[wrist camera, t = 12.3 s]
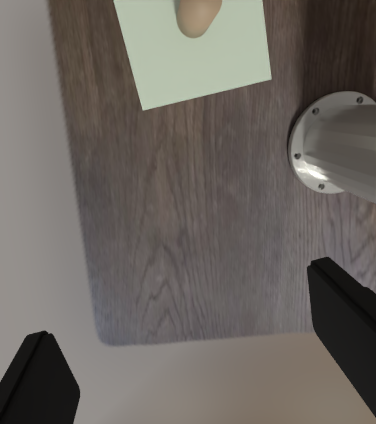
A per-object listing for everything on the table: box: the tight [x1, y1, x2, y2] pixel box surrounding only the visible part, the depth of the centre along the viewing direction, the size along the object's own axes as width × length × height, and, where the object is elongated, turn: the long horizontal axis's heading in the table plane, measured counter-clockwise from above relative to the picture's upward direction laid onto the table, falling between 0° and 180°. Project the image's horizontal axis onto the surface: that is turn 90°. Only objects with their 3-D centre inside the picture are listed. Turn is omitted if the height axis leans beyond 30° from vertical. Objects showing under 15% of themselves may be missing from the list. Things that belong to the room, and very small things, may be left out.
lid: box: [114, 0, 271, 110], centre depth 25 cm, size 13×13×6 cm
